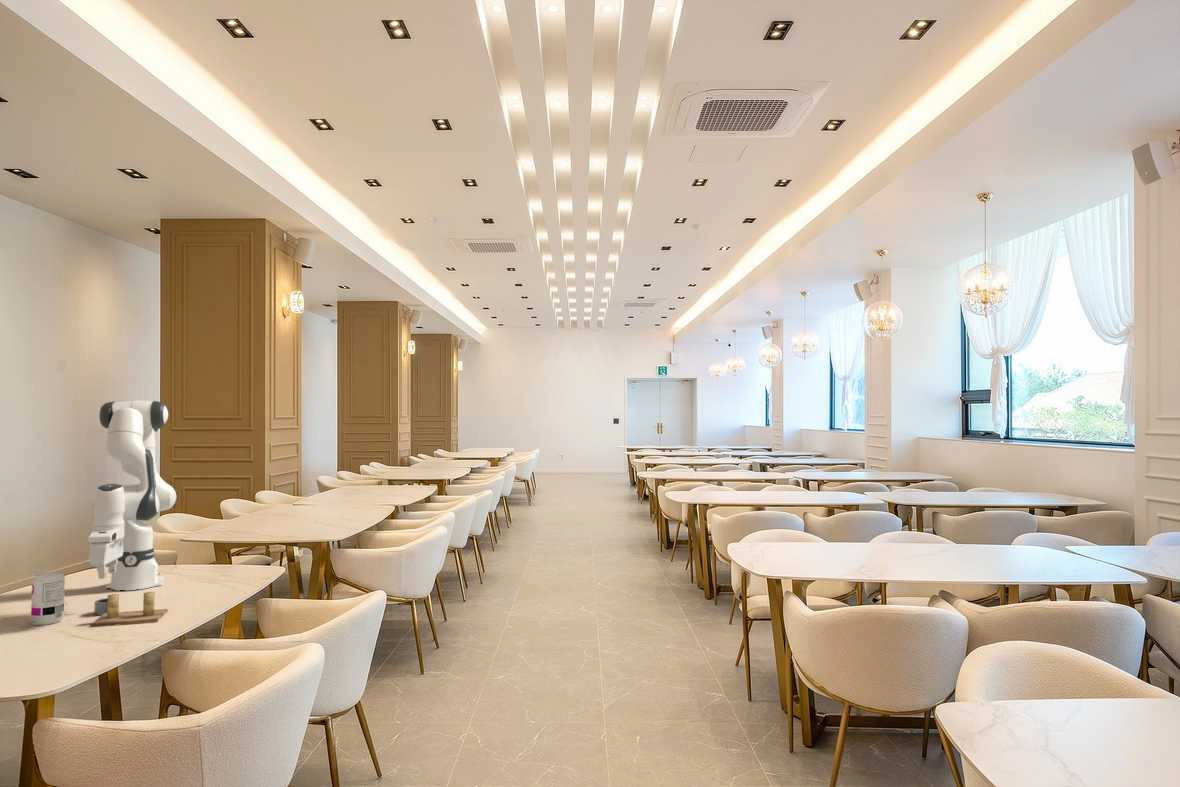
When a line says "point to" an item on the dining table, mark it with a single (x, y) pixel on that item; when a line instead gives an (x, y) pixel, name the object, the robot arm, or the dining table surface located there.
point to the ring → (101, 606)
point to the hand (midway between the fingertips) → (107, 575)
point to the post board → (129, 617)
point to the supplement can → (47, 598)
